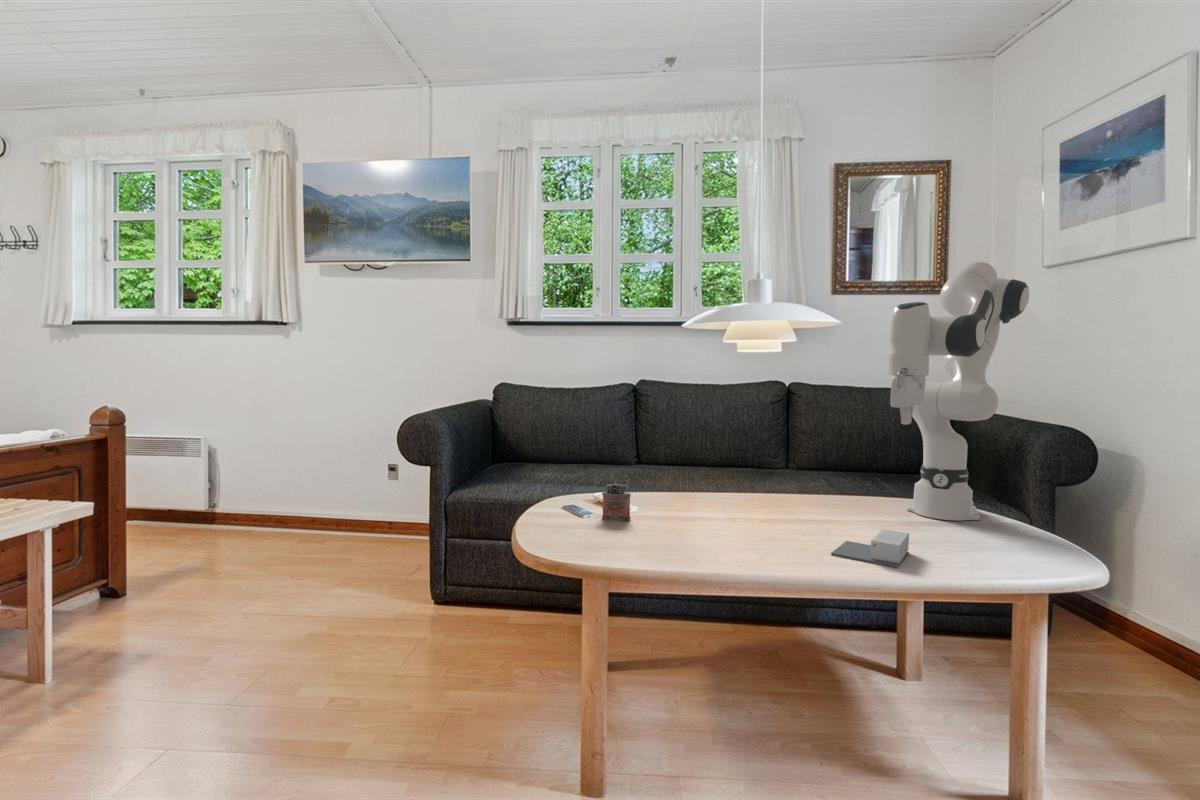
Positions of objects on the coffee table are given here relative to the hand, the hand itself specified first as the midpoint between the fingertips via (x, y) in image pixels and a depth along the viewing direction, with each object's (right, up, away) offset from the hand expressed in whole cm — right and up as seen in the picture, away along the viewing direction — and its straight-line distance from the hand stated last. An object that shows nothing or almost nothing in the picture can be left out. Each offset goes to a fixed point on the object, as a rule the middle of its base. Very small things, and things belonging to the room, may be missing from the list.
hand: (906, 424), depth 151 cm
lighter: (-71, -28, +19) cm, 79 cm away
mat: (-14, -30, -10) cm, 34 cm away
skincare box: (-6, -27, -7) cm, 29 cm away
